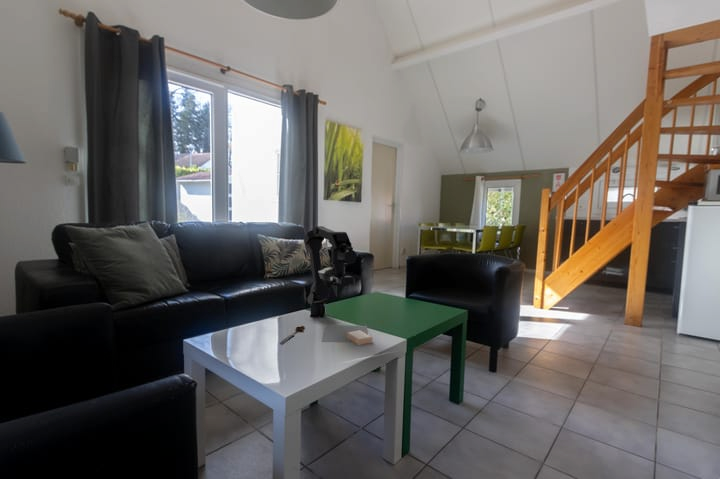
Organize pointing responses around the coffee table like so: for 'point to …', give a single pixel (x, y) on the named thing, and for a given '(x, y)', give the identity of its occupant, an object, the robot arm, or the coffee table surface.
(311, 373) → the coffee table surface
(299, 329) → the sword
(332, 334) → the mat
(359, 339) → the tile
